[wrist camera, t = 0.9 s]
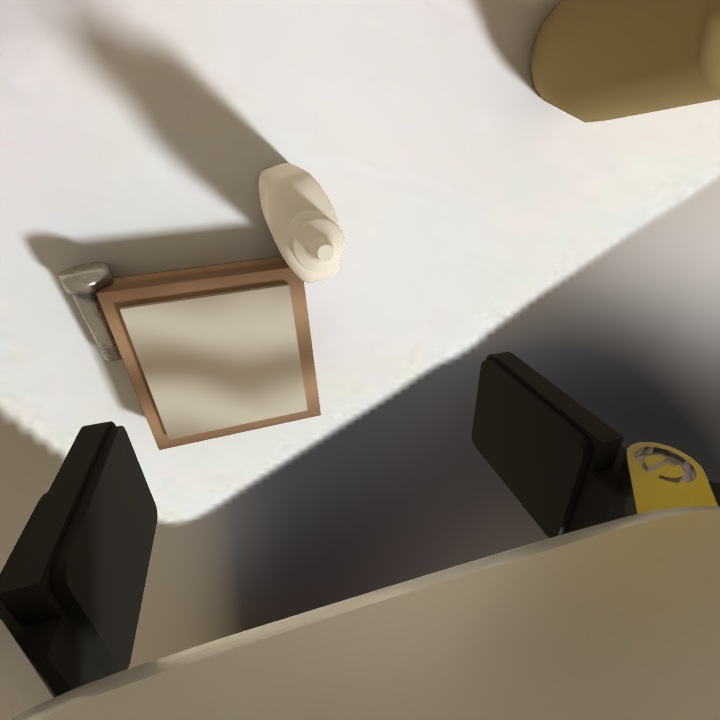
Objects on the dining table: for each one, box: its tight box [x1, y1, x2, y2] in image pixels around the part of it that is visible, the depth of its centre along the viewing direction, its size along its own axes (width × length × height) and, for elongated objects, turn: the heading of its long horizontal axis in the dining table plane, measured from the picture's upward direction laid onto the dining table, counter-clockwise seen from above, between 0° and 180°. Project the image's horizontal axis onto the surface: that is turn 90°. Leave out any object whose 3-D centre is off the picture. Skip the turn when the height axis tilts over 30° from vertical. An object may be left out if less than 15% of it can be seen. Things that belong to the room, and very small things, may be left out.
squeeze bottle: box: [531, 0, 720, 122], centre depth 20 cm, size 8×8×18 cm
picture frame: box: [96, 256, 321, 450], centre depth 29 cm, size 12×12×3 cm
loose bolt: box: [58, 263, 122, 361], centre depth 26 cm, size 6×3×3 cm
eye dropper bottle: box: [259, 163, 345, 283], centre depth 22 cm, size 4×6×12 cm
